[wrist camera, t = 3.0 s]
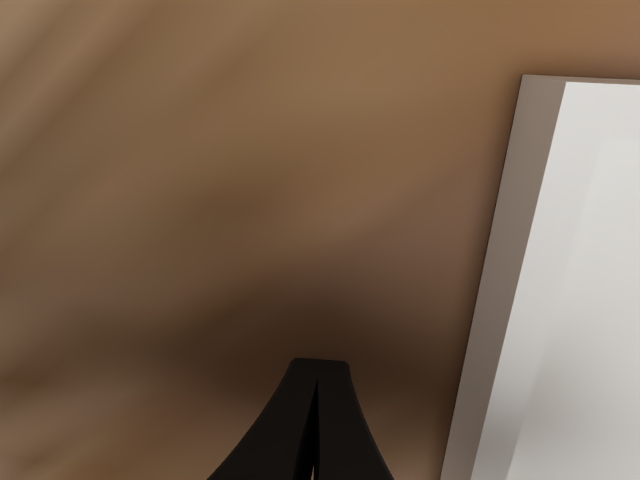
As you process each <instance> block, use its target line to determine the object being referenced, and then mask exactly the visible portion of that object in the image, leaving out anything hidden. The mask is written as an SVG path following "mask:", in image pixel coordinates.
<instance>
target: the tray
mask: <svg viewBox="0 0 640 480" xmlns="http://www.w3.org/2000/svg"><path fill="white" fill-rule="evenodd" d="M440 480H640V80H632V79H611V78H589V77H567V76H546V75H524V74H523V75H522V80H521V85H520V90H519V95H518V100H517V105H516V110H515V114H514V119H513V124H512V129H511V134H510V139H509V144H508V149H507V154H506V159H505V164H504V168H503V173H502V178H501V183H500V188H499V193H498V198H497V203H496V208H495V213H494V217H493V222H492V227H491V232H490V237H489V242H488V247H487V252H486V257H485V262H484V267H483V271H482V276H481V281H480V286H479V291H478V296H477V301H476V306H475V311H474V316H473V320H472V325H471V330H470V335H469V340H468V345H467V350H466V355H465V360H464V365H463V370H462V374H461V379H460V384H459V389H458V394H457V399H456V404H455V409H454V414H453V419H452V423H451V428H450V433H449V438H448V443H447V448H446V453H445V458H444V463H443V468H442V473H441V477H440Z"/></svg>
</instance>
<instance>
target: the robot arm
mask: <svg viewBox="0 0 640 480" xmlns="http://www.w3.org/2000/svg"><path fill="white" fill-rule="evenodd" d="M313 465H314V480H394V478H393V477H392V475H391V473H390V471H389V469H388V467H387V466H386V464H385V462H384V460H383V458H382V456H381V454H380V452H379V450H378V448H377V445H376V443H375V441H374V439H373V437H372V435H371V432H370V430H369V428H368V425H367V423H366V420H365V418H364V415H363V413H362V411H361V408H360V405H359V402H358V399H357V396H356V393H355V390H354V387H353V383H352V379H351V375H350V369H349V365H348V364H347V363H346V362H345V361H333V360H319V359H306V358H295V359H293V360H292V361H291V362H290V365H289V367H288V369H287V371H286V373H285V375H284V377H283V379H282V381H281V383H280V384H279V386H278V388H277V389H276V391H275V393H274V394H273V396H272V397H271V399H270V400H269V402H268V403H267V405H266V406H265V408H264V409H263V411H262V412H261V414H260V415H259V417H258V418H257V420H256V421H255V422H254V424H253V425H252V426H251V428H250V429H249V430H248V432H247V433H246V434H245V435H244V437H243V438H242V439H241V441H240V442H239V443H238V445H237V446H236V447H235V448H234V450H233V451H232V452H231V453H230V454H229V455H228V457H227V458H226V459H225V460H224V461H223V462H222V464H221V465H220V466H219V467H218V468H217V469H216V470H215V471H214V472H213V474H212V475H211V476H210V477H209V478H208V479H207V480H311V476H312V470H313Z"/></svg>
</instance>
